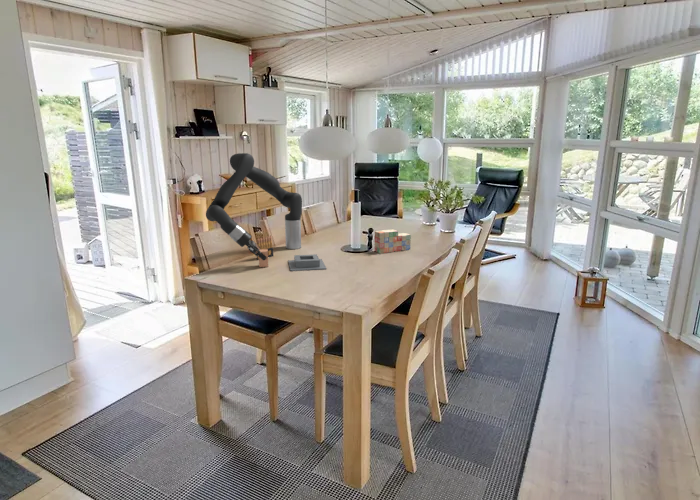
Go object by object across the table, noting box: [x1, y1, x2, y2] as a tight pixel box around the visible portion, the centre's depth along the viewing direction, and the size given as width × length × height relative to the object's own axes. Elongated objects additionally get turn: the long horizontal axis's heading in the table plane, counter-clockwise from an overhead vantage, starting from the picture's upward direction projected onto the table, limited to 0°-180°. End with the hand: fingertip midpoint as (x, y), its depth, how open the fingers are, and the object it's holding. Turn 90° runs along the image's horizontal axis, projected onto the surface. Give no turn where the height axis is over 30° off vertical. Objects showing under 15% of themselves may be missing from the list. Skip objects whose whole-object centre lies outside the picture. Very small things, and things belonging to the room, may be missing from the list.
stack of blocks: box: [373, 228, 412, 254], centre depth 261 cm, size 21×6×12 cm, turn 116°
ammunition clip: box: [256, 235, 274, 261], centre depth 243 cm, size 11×2×12 cm, turn 143°
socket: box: [287, 253, 327, 272], centre depth 230 cm, size 18×18×4 cm
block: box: [258, 249, 269, 268], centre depth 227 cm, size 4×4×8 cm
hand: (265, 257), depth 227 cm, fingers closed on block, 4 cm apart
